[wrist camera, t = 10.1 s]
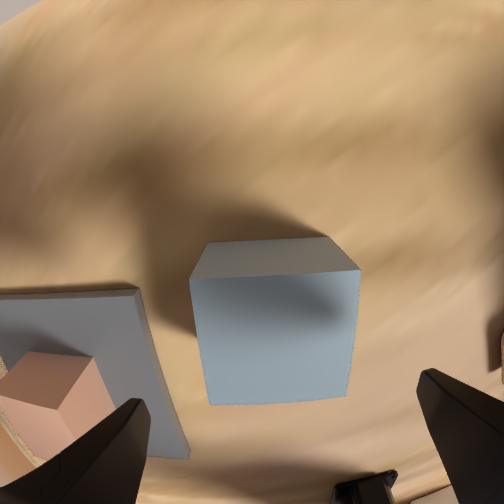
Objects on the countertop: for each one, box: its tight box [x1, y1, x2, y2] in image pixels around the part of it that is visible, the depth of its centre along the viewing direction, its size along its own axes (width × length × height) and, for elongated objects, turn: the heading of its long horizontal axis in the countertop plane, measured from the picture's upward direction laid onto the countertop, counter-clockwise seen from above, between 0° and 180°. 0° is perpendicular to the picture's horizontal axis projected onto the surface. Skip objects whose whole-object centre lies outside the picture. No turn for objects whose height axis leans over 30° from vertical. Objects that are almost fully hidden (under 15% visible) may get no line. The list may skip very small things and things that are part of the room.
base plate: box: [0, 288, 191, 460], centre depth 17 cm, size 14×14×1 cm
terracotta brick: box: [0, 351, 116, 461], centre depth 15 cm, size 6×6×5 cm
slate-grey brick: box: [189, 237, 361, 405], centre depth 14 cm, size 6×6×5 cm
